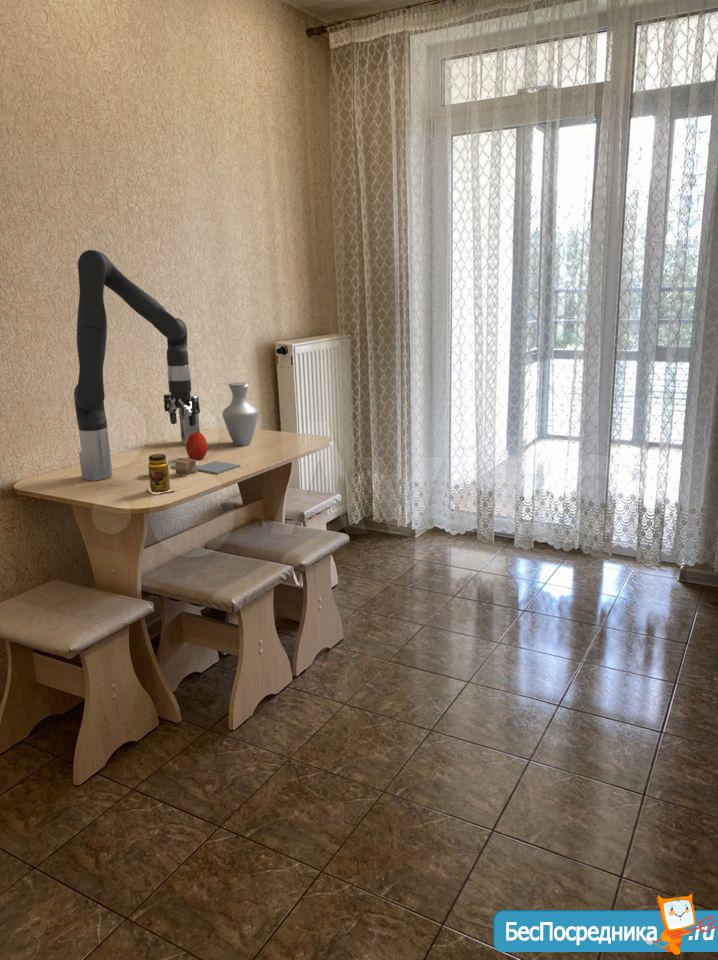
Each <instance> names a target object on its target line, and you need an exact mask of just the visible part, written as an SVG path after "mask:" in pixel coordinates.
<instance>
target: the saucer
mask: <svg viewBox="0 0 718 960" xmlns="http://www.w3.org/2000/svg"><path fill="white" fill-rule="evenodd" d="M199 463H200V462H199V460H198V459H196V467H198V466H200V464H199ZM173 468H174V469H176V466H175V461H174V462H173Z"/></svg>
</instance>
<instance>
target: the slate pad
mask: <svg viewBox="0 0 718 960" xmlns="http://www.w3.org/2000/svg"><path fill="white" fill-rule="evenodd" d="M237 467H238V468H241V465H240V464H237V463H230V462H225V461H224V462H223V461H218V460H214V461H212V462H208V463H205V464H201V465H199V466H198V467H196V468H197V470H198V471H197V472H201V471H204V472H203V473H207V472H210V473H209V474H213V473H216V474H215V475H220V474H223V473H225V471H226V472H229V471H231V469H232V470H235V469H237ZM234 468H235V469H234ZM228 470H229V471H228ZM222 472H223V473H222ZM219 473H220V474H219Z"/></svg>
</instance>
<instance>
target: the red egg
mask: <svg viewBox="0 0 718 960" xmlns="http://www.w3.org/2000/svg"><path fill="white" fill-rule="evenodd" d="M208 447H209V444H208V441H207V439H206V438H205V436H204V434H202V432H201V431H200V432H195V433H191V434H190V436H189V438H188V440H187V443H186V445H185V450H186V453H187V456H188V457H189V459H194V460H199V459H200V460H201V459H203V458H205V457H206V456H207V454H208V451H209V448H208Z"/></svg>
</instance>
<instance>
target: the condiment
mask: <svg viewBox="0 0 718 960" xmlns="http://www.w3.org/2000/svg"><path fill="white" fill-rule="evenodd" d="M166 460H167V456H166V454H164V453H154V454H150V455H149V456H148V463H150V464H149V465H147V466H148V477H149V479H148V480H149V486H150V488H151V491H152V492H156V493H157V492H165V491H168V490H169V489H170V488H171V486H170V472H169V473H168V464H167V462H166ZM150 488H149V489H150Z"/></svg>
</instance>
